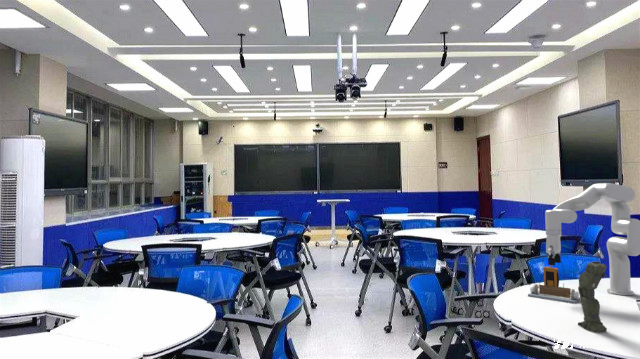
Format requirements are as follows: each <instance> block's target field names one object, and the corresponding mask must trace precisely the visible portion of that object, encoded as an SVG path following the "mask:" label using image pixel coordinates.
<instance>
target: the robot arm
mask: <svg viewBox="0 0 640 359" xmlns="http://www.w3.org/2000/svg"><path fill="white" fill-rule="evenodd" d="M602 199H604V200H605V201H606V202H607V203H608V204H609V205H610V208H611V220H610V221H611V224H610V229H611V232H613V233H614V234H616V235H621V236H612V237H609V238H608V239H607V241H606V249H607V253H608V262H609V264H608V265H609V288H607V289H606V292H607V293H609V294H612V295H618V296H634V295H635V292H634V291H633V290H631V261H630V259H629V256H631V257H637V256H639V255H640V220H639V219H637V218H631V208H630V206H629V204H628V203H631V202H633V201H634V200H635V199H636V191H635V189H633V188H632V187H629V186H626V185H623V184H622V185H621V184H617V183H612V182H602V183H601V182H600V183H598V182H597V183H594V184H593V183H592V185H590V186H588V188H586V189H585V190H584V191H582V192H580V193H579V194H578V195H577V196H575V197H571V198H569V199H567V200H565V201H563V202H561V203H559V204H558V205H556V206H555V207H554V208H553V209H546V210H545V213H544V217H545V218H544V219H545V236H546V238H545V240H546V242H545V252H546V254H547V258H548V259H547V262H548V265H552V266H555V265H556V263H557V264H560V263H561V262H562V261H561V259H562V258H561V257H562V256H561V250H562V249H561V247H562V245H561V237H562V224H572V223H574V222H576V220H577V219H578V214H577V211H583V210H587V209H590V208H591V207H593V205H595V204H596V203H598V202H599V201H600V200H602ZM623 236H626V237H623Z"/></svg>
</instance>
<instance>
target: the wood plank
mask: <svg viewBox="0 0 640 359" xmlns="http://www.w3.org/2000/svg"><path fill="white" fill-rule="evenodd" d="M538 286H539V288H538V291H539V292H540V293H539V294H547V295H554V296H560V297H566V298H570V296H571V290H572V289H571V288H569V287H564V288H563V286H559V287H556V286H547V285H544V284H538Z"/></svg>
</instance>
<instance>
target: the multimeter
mask: <svg viewBox="0 0 640 359" xmlns="http://www.w3.org/2000/svg"><path fill="white" fill-rule="evenodd" d="M545 257H546V256H544V257H543V258H542V261H541V262H542V263H541V264H542V266H543V267H542V269H543V274H542V276H541V278H540V280H539V282H538V289H539V285H541V281H542V279H543V285H547V286H556V287H560V276H559V275H560V274H559V268H557V267H553V265H549V266H544V259H545ZM561 266H562V270H563V272H565V269H564V265H563V262H562V261H561ZM563 277H565V274H563ZM562 287H563V288H565V284H563V286H562Z"/></svg>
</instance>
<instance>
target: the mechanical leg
mask: <svg viewBox="0 0 640 359" xmlns="http://www.w3.org/2000/svg"><path fill="white" fill-rule="evenodd" d="M607 268H608V267H607V265H606V263H605V264H604V263H601V261H600V260H598V261H591V262H588V263H587V265H586V266H585V270H584V271H583V272H582V273H580V275H579V277H578V287H577V290H578V291H577V292H579V297H580V299H581V300H580V304H581V308H582V313H583V321H580V322H578V323H577V326H579V327H581V328H583V329H586V330H587V331H590V332H593V333H594V332H598V333H607V329H608V328H607V327H606V326H605V325H604V323H603V322H602V321H601V320H602V319H601V318H600V317H601V316H600V310H601V308H600V307H601V306H600V305H601V304H600V301H599V300H598V299H597V298H596V297H595V290H597V289H598V286H599V284H600V282H601V280H602V279H603V278H606V277H607V274H606V270H607Z"/></svg>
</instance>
